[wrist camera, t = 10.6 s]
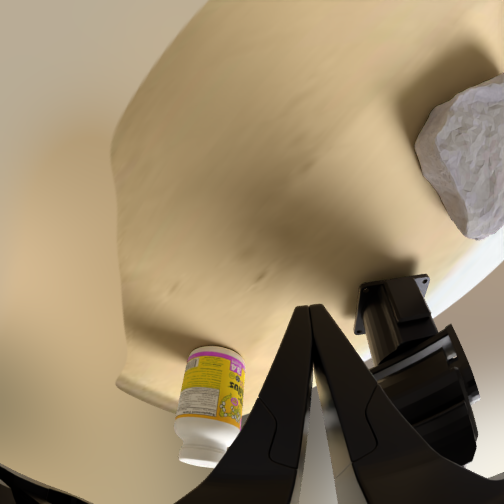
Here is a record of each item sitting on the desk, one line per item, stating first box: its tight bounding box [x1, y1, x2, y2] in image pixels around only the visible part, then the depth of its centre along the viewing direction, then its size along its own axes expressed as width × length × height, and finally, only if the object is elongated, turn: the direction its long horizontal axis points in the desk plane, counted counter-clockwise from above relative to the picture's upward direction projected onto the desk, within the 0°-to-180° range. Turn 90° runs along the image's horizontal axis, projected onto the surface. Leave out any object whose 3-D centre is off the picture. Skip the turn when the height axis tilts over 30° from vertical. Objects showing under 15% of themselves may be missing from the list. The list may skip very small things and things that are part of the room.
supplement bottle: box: [174, 346, 245, 468], centre depth 25 cm, size 7×7×13 cm
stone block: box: [414, 73, 504, 240], centre depth 13 cm, size 12×5×10 cm
